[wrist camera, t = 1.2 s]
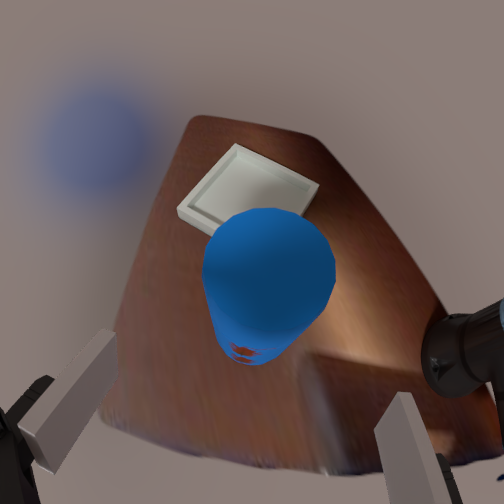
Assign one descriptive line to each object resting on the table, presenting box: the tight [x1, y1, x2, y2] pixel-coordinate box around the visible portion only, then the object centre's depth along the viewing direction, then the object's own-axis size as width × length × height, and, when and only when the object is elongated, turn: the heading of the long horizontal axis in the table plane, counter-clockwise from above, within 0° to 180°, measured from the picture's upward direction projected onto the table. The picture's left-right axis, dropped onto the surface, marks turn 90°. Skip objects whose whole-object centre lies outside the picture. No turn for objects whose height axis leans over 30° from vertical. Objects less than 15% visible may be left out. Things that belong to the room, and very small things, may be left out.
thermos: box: [202, 208, 336, 365], centre depth 36 cm, size 11×11×25 cm
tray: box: [177, 144, 319, 237], centre depth 56 cm, size 18×18×3 cm
